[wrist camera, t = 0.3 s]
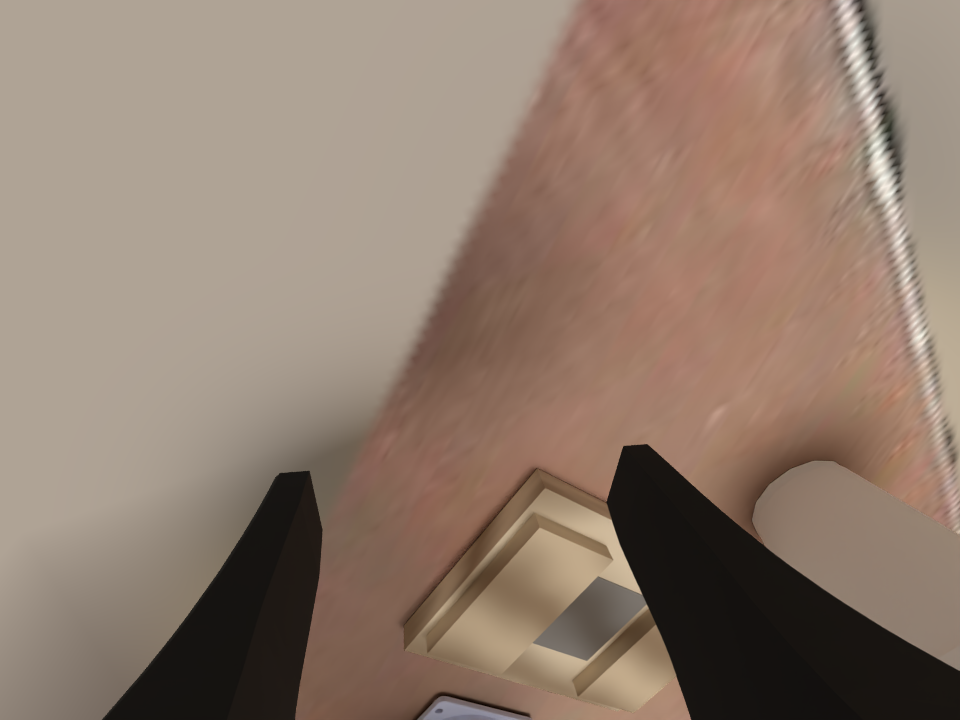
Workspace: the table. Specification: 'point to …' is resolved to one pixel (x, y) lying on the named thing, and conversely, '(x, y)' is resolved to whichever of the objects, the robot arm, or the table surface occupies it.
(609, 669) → the display stand
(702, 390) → the table surface
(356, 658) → the table surface
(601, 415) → the table surface
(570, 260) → the table surface
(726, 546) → the robot arm
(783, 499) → the foam cup
